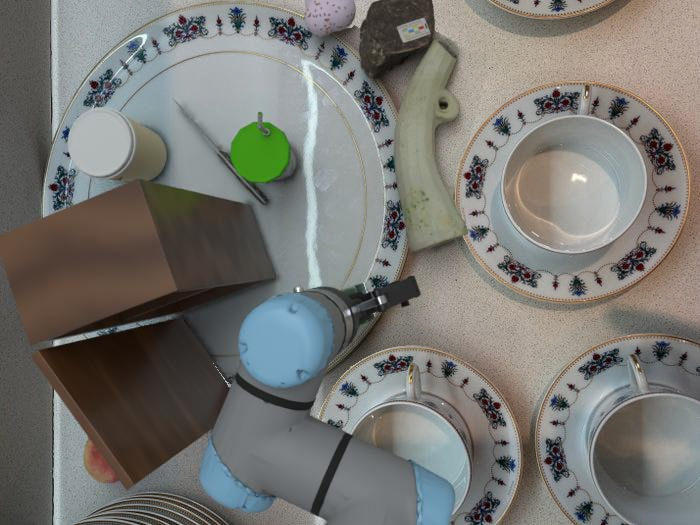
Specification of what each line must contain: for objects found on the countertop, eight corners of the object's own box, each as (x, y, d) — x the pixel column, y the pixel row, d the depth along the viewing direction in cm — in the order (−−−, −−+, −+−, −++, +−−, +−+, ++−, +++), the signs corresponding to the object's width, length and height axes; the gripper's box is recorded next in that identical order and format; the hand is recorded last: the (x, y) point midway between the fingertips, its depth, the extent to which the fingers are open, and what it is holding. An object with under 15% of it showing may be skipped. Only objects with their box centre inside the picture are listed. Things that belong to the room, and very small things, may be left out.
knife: (173, 103, 97) (164, 98, 94) (180, 96, 96) (171, 91, 93) (264, 207, 95) (258, 205, 92) (271, 200, 94) (265, 198, 91)
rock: (427, -15, 87) (451, 42, 86) (408, 13, 93) (430, 65, 93) (357, 5, 84) (381, 63, 83) (343, 32, 90) (366, 86, 90)
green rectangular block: (377, 316, 92) (368, 322, 83) (343, 327, 93) (331, 335, 84) (364, 282, 92) (354, 285, 84) (331, 294, 93) (317, 298, 84)
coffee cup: (100, 160, 99) (51, 148, 87) (138, 110, 97) (94, 91, 86) (146, 200, 97) (103, 193, 86) (185, 150, 96) (146, 136, 85)
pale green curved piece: (403, 254, 91) (477, 246, 90) (405, 254, 83) (486, 245, 82) (381, 49, 91) (454, 40, 90) (380, 28, 83) (461, 18, 82)
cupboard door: (211, 432, 96) (82, 526, 63) (147, 345, 98) (-13, 392, 65) (246, 404, 95) (134, 484, 62) (181, 316, 97) (37, 349, 64)
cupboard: (276, 277, 94) (177, 290, 61) (177, 313, 97) (30, 345, 64) (250, 204, 95) (138, 178, 62) (152, 242, 97) (-7, 237, 64)
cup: (276, 202, 94) (242, 192, 79) (243, 159, 95) (203, 142, 80) (319, 166, 93) (292, 150, 78) (285, 123, 94) (252, 99, 79)
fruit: (96, 425, 99) (65, 440, 91) (142, 411, 98) (115, 425, 90) (112, 476, 99) (81, 495, 91) (158, 462, 98) (131, 481, 90)
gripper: (419, 248, 67) (428, 249, 88) (198, 329, 71) (257, 311, 92) (444, 318, 67) (448, 303, 88) (221, 395, 71) (275, 363, 92)
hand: (350, 307), depth 90 cm, fingers open, 13 cm apart
